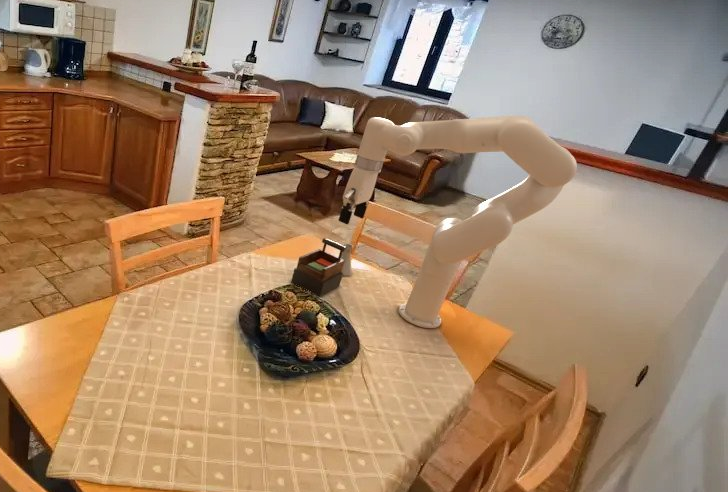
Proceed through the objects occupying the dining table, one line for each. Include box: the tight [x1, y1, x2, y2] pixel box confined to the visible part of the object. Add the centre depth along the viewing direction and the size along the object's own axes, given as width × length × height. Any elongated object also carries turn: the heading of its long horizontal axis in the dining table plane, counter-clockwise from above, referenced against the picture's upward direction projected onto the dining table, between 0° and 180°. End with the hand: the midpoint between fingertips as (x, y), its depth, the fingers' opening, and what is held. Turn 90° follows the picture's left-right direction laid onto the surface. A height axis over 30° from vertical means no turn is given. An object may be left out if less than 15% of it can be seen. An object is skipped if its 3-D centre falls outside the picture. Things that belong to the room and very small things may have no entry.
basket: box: [296, 237, 346, 282], centre depth 157 cm, size 12×10×9 cm
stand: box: [290, 267, 344, 298], centre depth 160 cm, size 12×11×5 cm
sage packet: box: [307, 262, 326, 273], centre depth 156 cm, size 3×5×2 cm
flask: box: [341, 242, 354, 276], centre depth 171 cm, size 7×7×10 cm
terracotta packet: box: [315, 258, 333, 267], centre depth 160 cm, size 3×5×2 cm
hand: (350, 219), depth 150 cm, fingers open, 9 cm apart
